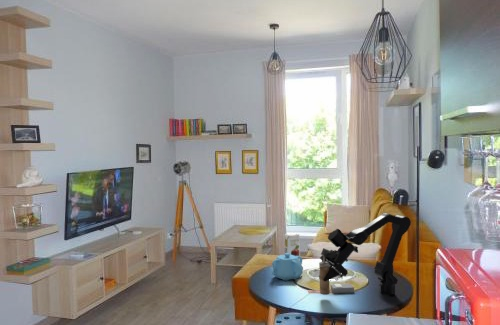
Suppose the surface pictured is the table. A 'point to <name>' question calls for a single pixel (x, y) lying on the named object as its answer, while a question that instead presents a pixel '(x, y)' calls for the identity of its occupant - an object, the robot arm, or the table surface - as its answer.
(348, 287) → the block
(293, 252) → the juice carton
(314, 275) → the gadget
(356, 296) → the table surface
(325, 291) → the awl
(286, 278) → the decorative pot
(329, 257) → the robot arm
